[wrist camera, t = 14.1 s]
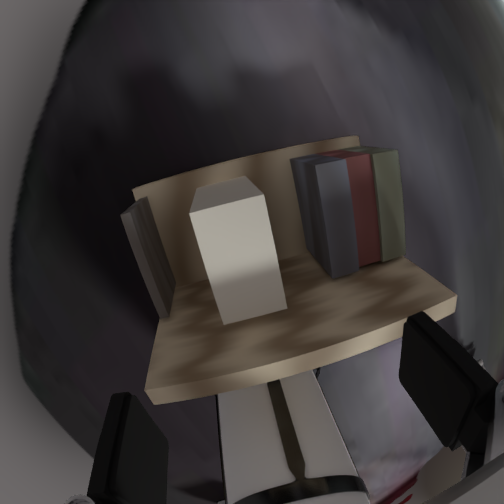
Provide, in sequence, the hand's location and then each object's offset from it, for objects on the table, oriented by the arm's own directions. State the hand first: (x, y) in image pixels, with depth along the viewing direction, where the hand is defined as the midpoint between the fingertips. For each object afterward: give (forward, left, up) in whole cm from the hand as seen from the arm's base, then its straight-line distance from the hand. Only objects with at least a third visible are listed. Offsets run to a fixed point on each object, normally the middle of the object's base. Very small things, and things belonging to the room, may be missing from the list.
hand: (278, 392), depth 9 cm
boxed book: (0, 0, -21) cm, 21 cm away
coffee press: (0, +21, -23) cm, 31 cm away
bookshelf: (-3, 0, -22) cm, 22 cm away
